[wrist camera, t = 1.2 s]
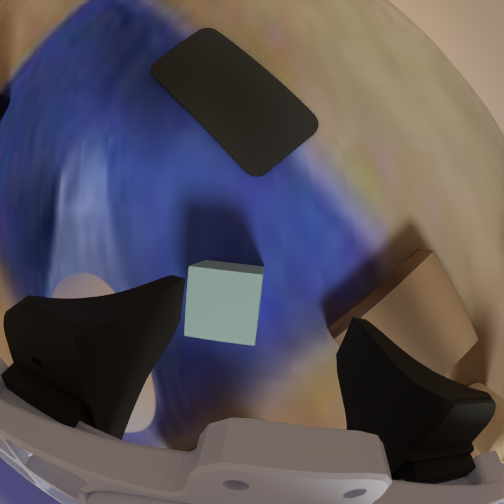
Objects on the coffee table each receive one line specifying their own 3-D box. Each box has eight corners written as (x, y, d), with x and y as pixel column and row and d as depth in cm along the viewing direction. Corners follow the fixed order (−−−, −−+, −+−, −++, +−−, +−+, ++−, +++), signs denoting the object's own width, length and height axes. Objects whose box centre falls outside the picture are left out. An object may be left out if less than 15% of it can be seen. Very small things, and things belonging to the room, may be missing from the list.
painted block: (257, 323, 23) (254, 345, 18) (201, 315, 23) (184, 335, 18) (264, 266, 22) (262, 274, 17) (206, 259, 23) (188, 266, 18)
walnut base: (383, 400, 23) (394, 416, 20) (326, 326, 23) (333, 339, 20) (461, 330, 22) (478, 339, 19) (416, 249, 22) (433, 250, 19)
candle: (456, 386, 22) (510, 433, 12) (490, 377, 21) (544, 415, 11) (441, 428, 22) (484, 480, 12) (476, 418, 22) (520, 461, 12)
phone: (254, 182, 22) (145, 69, 22) (254, 184, 23) (148, 73, 22) (325, 124, 21) (208, 23, 21) (323, 128, 22) (209, 28, 22)
